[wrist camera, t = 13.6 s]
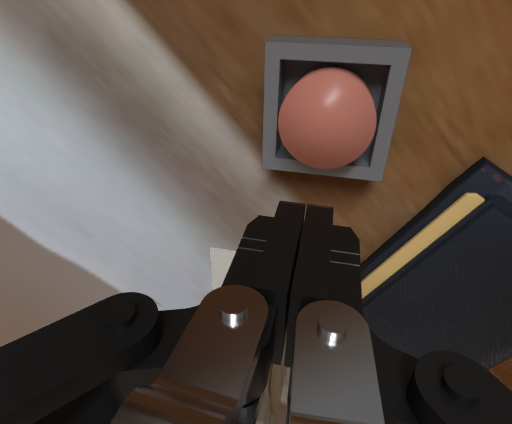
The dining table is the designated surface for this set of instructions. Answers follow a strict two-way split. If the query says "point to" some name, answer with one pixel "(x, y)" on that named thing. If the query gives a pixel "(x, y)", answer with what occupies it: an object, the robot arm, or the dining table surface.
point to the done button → (327, 117)
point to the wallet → (448, 273)
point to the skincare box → (272, 393)
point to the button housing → (348, 56)
